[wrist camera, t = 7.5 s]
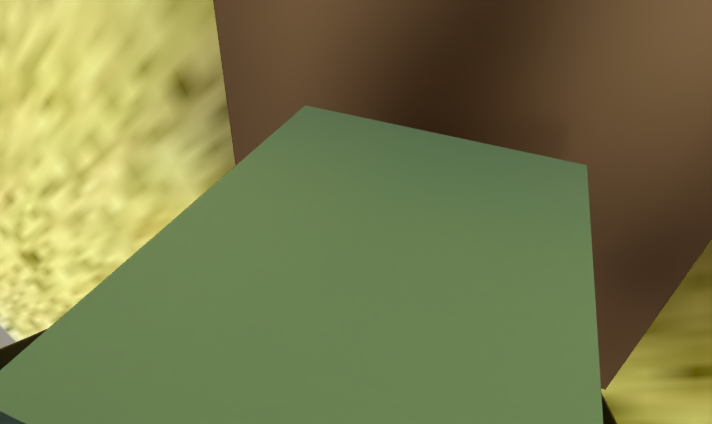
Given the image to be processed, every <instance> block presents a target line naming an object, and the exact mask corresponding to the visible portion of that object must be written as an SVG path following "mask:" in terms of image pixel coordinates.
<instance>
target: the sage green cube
mask: <svg viewBox="0 0 712 424" xmlns="http://www.w3.org/2000/svg"><path fill="white" fill-rule="evenodd" d="M0 424H603V412H602V396H601V381H600V365H599V349H598V333H597V318H596V302H595V286H594V270H593V255H592V239H591V223H590V207H589V192H588V176H587V165H583V164H579V163H574V162H569V161H565V160H560V159H555V158H551V157H546V156H541V155H537V154H532V153H527V152H522V151H518V150H513V149H508V148H504V147H499V146H494V145H490V144H485V143H480V142H475V141H471V140H466V139H461V138H457V137H452V136H447V135H443V134H438V133H433V132H428V131H424V130H419V129H414V128H410V127H405V126H400V125H396V124H391V123H386V122H381V121H377V120H372V119H367V118H363V117H358V116H353V115H349V114H344V113H339V112H334V111H330V110H325V109H320V108H316V107H311V106H306V105H305V106H304V107H303V108H302V109H301V110H299V111H298V112H297V113H296V114H295V115H294V116H292V117H291V118H290V119H289V120H288V121H287V122H286V123H284V124H283V125H282V126H281V127H280V128H279V129H277V130H276V131H275V132H274V133H273V134H272V135H271V136H269V137H268V138H267V139H266V140H265V141H264V142H263V143H261V144H260V145H259V146H258V147H257V148H256V149H254V150H253V151H252V152H251V153H250V154H249V155H248V156H246V157H245V158H244V159H243V160H242V161H241V162H239V163H238V164H237V165H236V166H235V167H234V168H233V169H231V170H230V171H229V172H228V173H227V174H226V175H225V176H223V177H222V178H221V179H220V180H219V181H218V182H216V183H215V184H214V185H213V186H212V187H211V188H210V189H208V190H207V191H206V192H205V193H204V194H203V195H201V196H200V197H199V198H198V199H197V200H196V201H195V202H193V203H192V204H191V205H190V206H189V207H188V208H187V209H185V210H184V211H183V212H182V213H181V214H180V215H178V216H177V217H176V218H175V219H174V220H173V221H172V222H170V223H169V224H168V225H167V226H166V227H165V228H164V229H162V230H161V231H160V232H159V233H158V234H157V235H155V236H154V237H153V238H152V239H151V240H150V241H149V242H147V243H146V244H145V245H144V246H143V247H142V248H140V249H139V250H138V251H137V252H136V253H135V254H134V255H132V256H131V257H130V258H129V259H128V260H127V261H126V262H124V263H123V264H122V265H121V266H120V267H119V268H117V269H116V270H115V271H114V272H113V273H112V274H111V275H109V276H108V277H107V278H106V279H105V280H104V281H102V282H101V283H100V284H99V285H98V286H97V287H96V288H94V289H93V290H92V291H91V292H90V293H89V294H88V295H86V296H85V297H84V298H83V299H82V300H81V301H79V302H78V303H77V304H76V305H75V306H74V307H73V308H71V309H70V310H69V311H68V312H67V313H66V314H64V315H63V316H62V317H61V318H60V319H59V320H58V321H56V322H55V323H54V324H53V325H52V326H51V327H50V328H48V329H47V330H46V331H45V332H44V333H43V334H41V335H40V336H39V337H38V338H37V339H36V340H35V341H33V342H32V343H31V344H30V345H29V346H28V347H27V348H25V349H24V350H23V351H22V352H21V353H20V354H18V355H17V356H16V357H15V358H14V359H13V360H12V361H10V362H9V363H8V364H7V365H6V366H5V367H3V368H2V369H1V370H0Z"/></svg>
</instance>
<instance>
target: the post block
mask: <svg viewBox="0 0 712 424" xmlns="http://www.w3.org/2000/svg"><path fill="white" fill-rule="evenodd" d="M213 2H214V9H215V17H216V24H217V31H218V39H219V46H220V53H221V61H222V68H223V75H224V83H225V90H226V97H227V105H228V112H229V119H230V127H231V134H232V142H233V149H234V156H235V164H236V165H237V164H238V163H239V162H241V161H242V160H243V159H244V158H245V157H246V156H248V155H249V154H250V153H251V152H252V151H253V150H254V149H256V148H257V147H258V146H259V145H260V144H261V143H263V142H264V141H265V140H266V139H267V138H268V137H269V136H271V135H272V134H273V133H274V132H275V131H276V130H277V129H279V128H280V127H281V126H282V125H283V124H284V123H286V122H287V121H288V120H289V119H290V118H291V117H292V116H294V115H295V114H296V113H297V112H298V111H299V110H301V109H302V108H303V107H304V106H305V105H306V106H311V107H316V108H320V109H325V110H330V111H334V112H339V113H344V114H349V115H353V116H358V117H363V118H367V119H372V120H377V121H381V122H386V123H391V124H396V125H400V126H405V127H410V128H414V129H419V130H424V131H428V132H433V133H438V134H443V135H447V136H452V137H457V138H461V139H466V140H471V141H475V142H480V143H485V144H490V145H494V146H499V147H504V148H508V149H513V150H518V151H522V152H527V153H532V154H537V155H541V156H546V157H551V158H555V159H560V160H565V161H569V162H574V163H579V164H583V165H587V176H588V192H589V207H590V223H591V239H592V255H593V270H594V286H595V302H596V318H597V333H598V349H599V365H600V381H601V388H602V389H606V388H607V386H608V385H609V384H610V382H611V381H612V379H613V378H614V376H615V375H616V374H617V372H618V371H619V369H620V368H621V367H622V365H623V364H624V362H625V361H626V359H627V358H628V357H629V355H630V354H631V352H632V351H633V350H634V348H635V347H636V345H637V344H638V342H639V341H640V340H641V338H642V337H643V335H644V334H645V333H646V331H647V330H648V328H649V327H650V325H651V324H652V323H653V321H654V320H655V318H656V317H657V316H658V314H659V313H660V311H661V310H662V308H663V307H664V306H665V304H666V303H667V301H668V300H669V299H670V297H671V296H672V294H673V293H674V291H675V290H676V289H677V287H678V286H679V284H680V283H681V282H682V280H683V279H684V277H685V276H686V274H687V273H688V272H689V270H690V269H691V267H692V266H693V265H694V263H695V262H696V260H697V259H698V257H699V256H700V255H701V253H702V252H703V250H704V249H705V248H706V246H707V245H708V243H709V242H710V240H711V239H712V0H213Z"/></svg>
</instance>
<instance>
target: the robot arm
mask: <svg viewBox="0 0 712 424" xmlns="http://www.w3.org/2000/svg"><path fill="white" fill-rule="evenodd" d="M46 330H47V329H46ZM46 330H43V331H41V332H39V333H37V334H34V335H32V336H30V337H28V338H25V339H23V340H20V341H18V342H15V343H13V344H10V345H8V346H5V347H3V348H1V349H0V370H1V369H2V368H3V367H5V366H6V365H7V364H8V363H9V362H10V361H12V360H13V359H14V358H15V357H16V356H17V355H18V354H20V353H21V352H22V351H23V350H24V349H25V348H27V347H28V346H29V345H30V344H31V343H32V342H33V341H35V340H36V339H37V338H38V337H39V336H40V335H41V334H43V333H44V332H45V331H46ZM601 396H602V412H603V424H617V422H616V420H615V418H614V416H613V415H612V413H611V411H610V409H609V407H608V405H607V403H606V401H605V399H604V397H603V395H602V393H601Z"/></svg>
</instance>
